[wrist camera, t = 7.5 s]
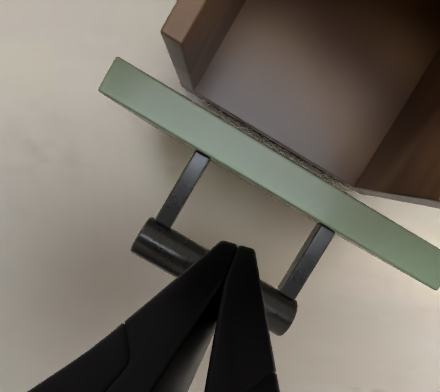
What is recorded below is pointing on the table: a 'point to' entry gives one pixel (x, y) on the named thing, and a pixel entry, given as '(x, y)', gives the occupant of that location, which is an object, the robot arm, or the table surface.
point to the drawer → (301, 122)
